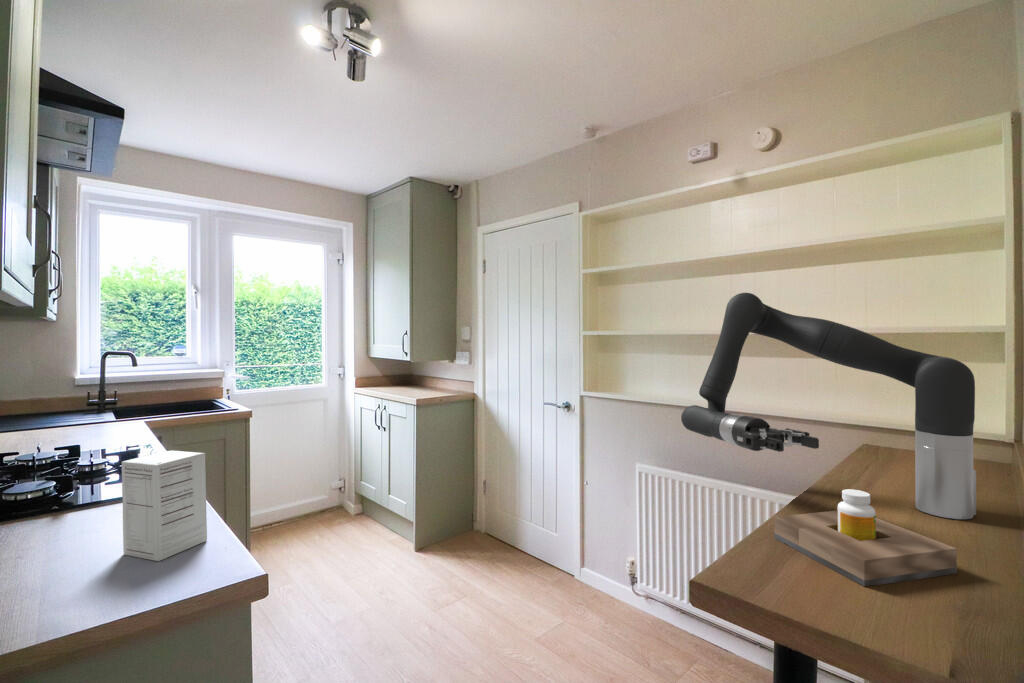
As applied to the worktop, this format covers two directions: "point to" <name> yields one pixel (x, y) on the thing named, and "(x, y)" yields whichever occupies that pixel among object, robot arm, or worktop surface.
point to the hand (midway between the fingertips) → (800, 445)
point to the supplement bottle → (856, 515)
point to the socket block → (866, 549)
